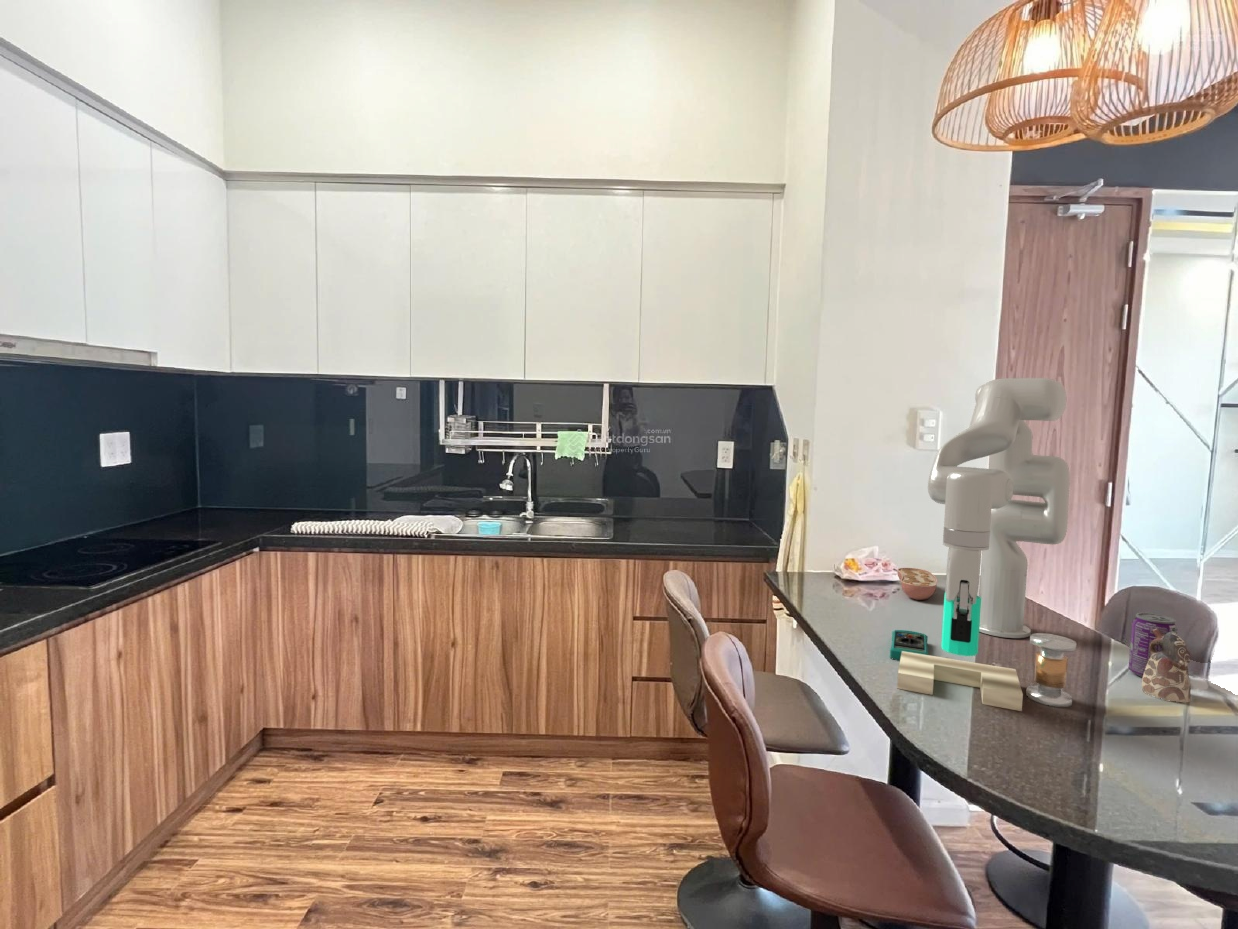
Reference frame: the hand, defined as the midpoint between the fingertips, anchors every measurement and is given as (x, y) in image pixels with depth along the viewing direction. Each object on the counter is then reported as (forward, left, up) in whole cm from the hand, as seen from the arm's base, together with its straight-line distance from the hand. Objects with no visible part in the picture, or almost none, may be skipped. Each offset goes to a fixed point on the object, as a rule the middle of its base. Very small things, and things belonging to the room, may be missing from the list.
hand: (960, 635), depth 122 cm
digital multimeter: (-19, -9, -11) cm, 24 cm away
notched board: (-3, 0, -11) cm, 11 cm away
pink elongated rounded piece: (-73, -9, -11) cm, 75 cm away
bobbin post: (-5, +15, -11) cm, 19 cm away
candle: (0, 0, -3) cm, 3 cm away
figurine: (-18, +35, -11) cm, 41 cm away
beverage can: (-28, +35, -11) cm, 46 cm away
